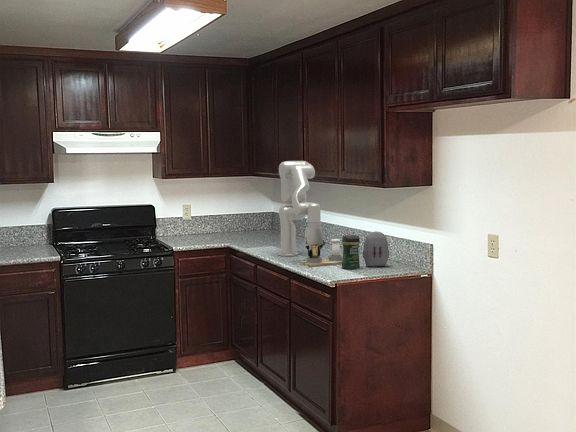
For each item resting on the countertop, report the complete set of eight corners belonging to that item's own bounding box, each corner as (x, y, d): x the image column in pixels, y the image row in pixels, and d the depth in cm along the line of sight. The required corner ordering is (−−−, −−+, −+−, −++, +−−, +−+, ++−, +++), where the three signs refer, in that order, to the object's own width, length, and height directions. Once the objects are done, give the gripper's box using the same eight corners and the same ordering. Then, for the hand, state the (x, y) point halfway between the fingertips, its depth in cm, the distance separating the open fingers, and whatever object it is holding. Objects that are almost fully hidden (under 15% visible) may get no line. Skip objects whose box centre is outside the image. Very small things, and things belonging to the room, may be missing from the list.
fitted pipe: (326, 259, 381) (326, 239, 380) (338, 258, 384) (338, 238, 383) (332, 261, 374) (332, 240, 372) (345, 260, 377) (345, 239, 376)
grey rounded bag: (388, 265, 369) (388, 230, 367) (390, 267, 360) (390, 232, 359) (361, 265, 368) (361, 230, 366) (363, 268, 360) (363, 232, 358)
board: (299, 263, 378) (299, 261, 377) (336, 260, 387) (336, 257, 387) (310, 267, 365) (310, 264, 365) (347, 263, 374) (347, 261, 374)
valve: (308, 258, 375) (308, 243, 374) (316, 258, 377) (316, 243, 376) (312, 260, 369) (312, 245, 368) (320, 259, 371) (320, 244, 370)
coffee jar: (346, 270, 355) (345, 236, 353) (340, 267, 362) (339, 234, 361) (361, 268, 358) (361, 235, 357) (355, 266, 366) (355, 233, 364)
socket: (305, 261, 375) (305, 257, 375) (317, 260, 379) (317, 256, 378) (311, 263, 368) (310, 259, 368) (323, 262, 371) (323, 258, 371)
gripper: (324, 223, 378) (324, 254, 380) (297, 225, 372) (298, 256, 373) (330, 225, 371) (330, 256, 373) (303, 226, 365) (303, 258, 366)
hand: (314, 256), depth 373 cm, fingers closed on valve, 4 cm apart
